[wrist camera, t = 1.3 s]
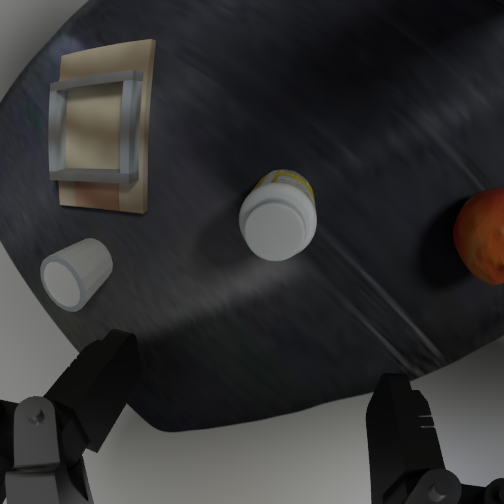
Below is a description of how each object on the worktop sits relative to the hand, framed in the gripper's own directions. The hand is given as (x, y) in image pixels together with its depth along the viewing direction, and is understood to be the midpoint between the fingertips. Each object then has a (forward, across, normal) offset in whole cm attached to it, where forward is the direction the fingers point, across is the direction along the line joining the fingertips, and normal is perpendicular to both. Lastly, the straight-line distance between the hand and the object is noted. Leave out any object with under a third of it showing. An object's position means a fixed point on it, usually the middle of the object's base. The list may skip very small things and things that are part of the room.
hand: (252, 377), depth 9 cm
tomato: (+22, -20, -1) cm, 30 cm away
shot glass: (+22, +23, +9) cm, 33 cm away
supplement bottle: (+22, +1, 0) cm, 23 cm away
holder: (+22, +21, -7) cm, 31 cm away
